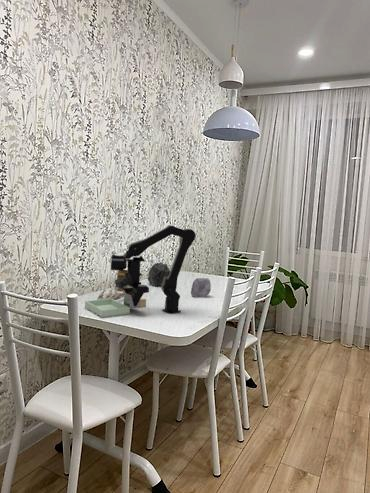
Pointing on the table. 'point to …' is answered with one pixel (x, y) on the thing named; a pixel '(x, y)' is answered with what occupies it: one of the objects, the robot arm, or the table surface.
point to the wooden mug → (120, 274)
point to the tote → (107, 308)
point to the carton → (143, 302)
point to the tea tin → (130, 301)
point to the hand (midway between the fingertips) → (132, 304)
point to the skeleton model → (111, 295)
